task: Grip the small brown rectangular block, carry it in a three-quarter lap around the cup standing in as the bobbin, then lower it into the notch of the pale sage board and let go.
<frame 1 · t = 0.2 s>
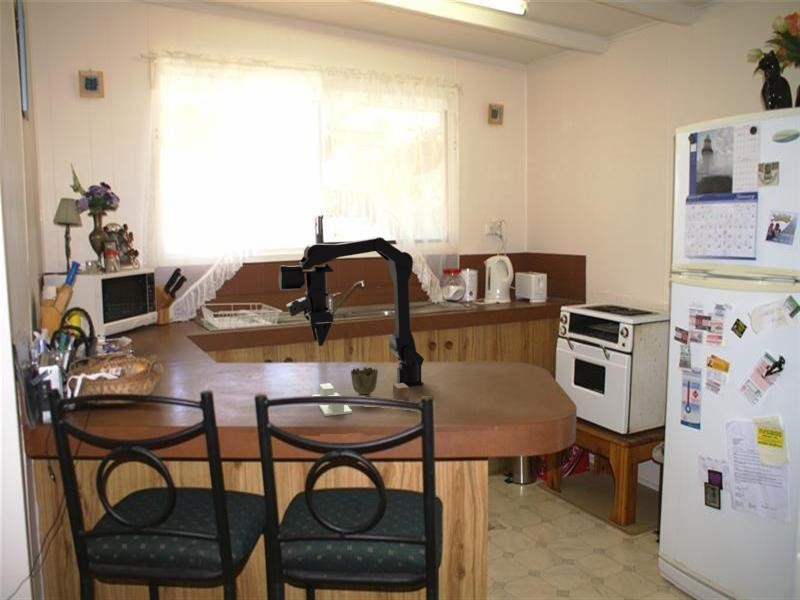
hand: (318, 342, 181), 14 cm above the countertop, fingers open, 9 cm apart
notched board: (331, 404, 170), on the countertop
brown rectangular block: (401, 403, 171), on the countertop
cup: (364, 398, 176), on the countertop
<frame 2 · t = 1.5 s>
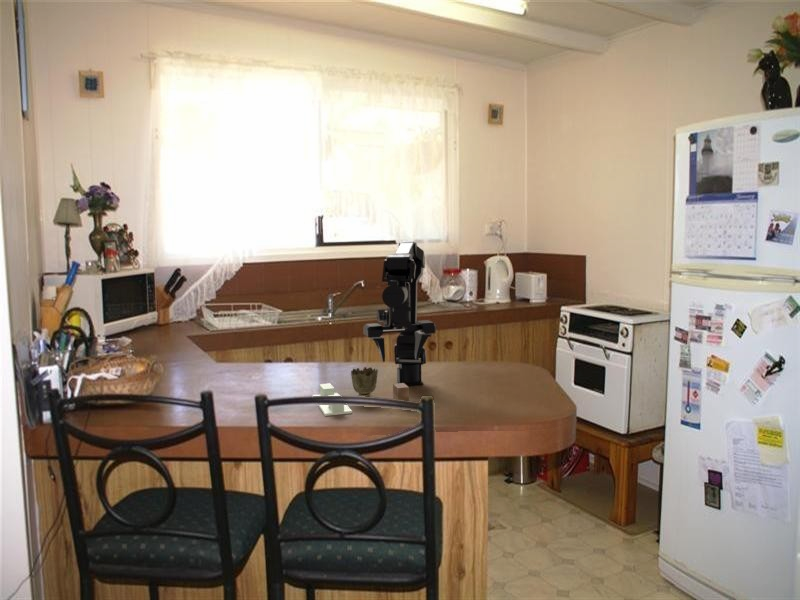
hand: (400, 360, 169), 12 cm above the countertop, fingers open, 9 cm apart
nothing on the countertop moved.
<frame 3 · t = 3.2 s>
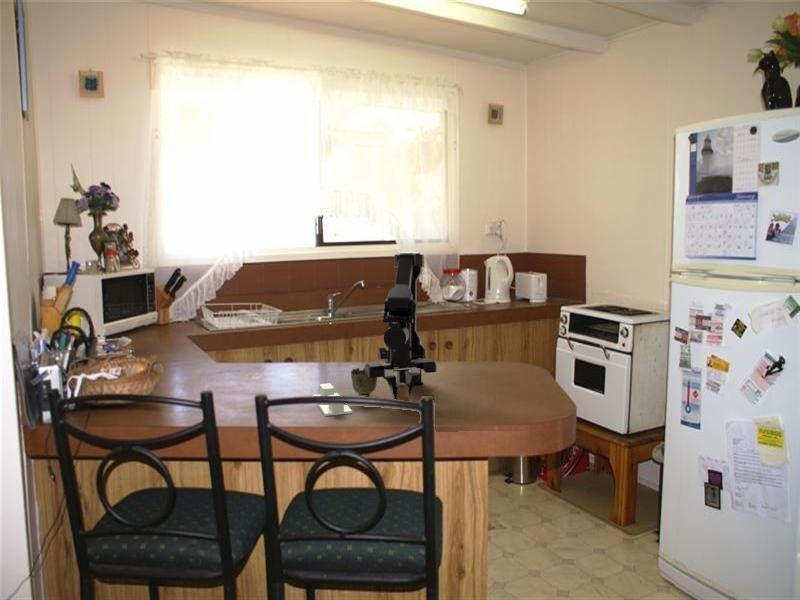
hand: (400, 398, 170), 1 cm above the countertop, fingers closed on brown rectangular block, 3 cm apart
brown rectangular block: (401, 403, 171), on the countertop, touching gripper
everything else where it was.
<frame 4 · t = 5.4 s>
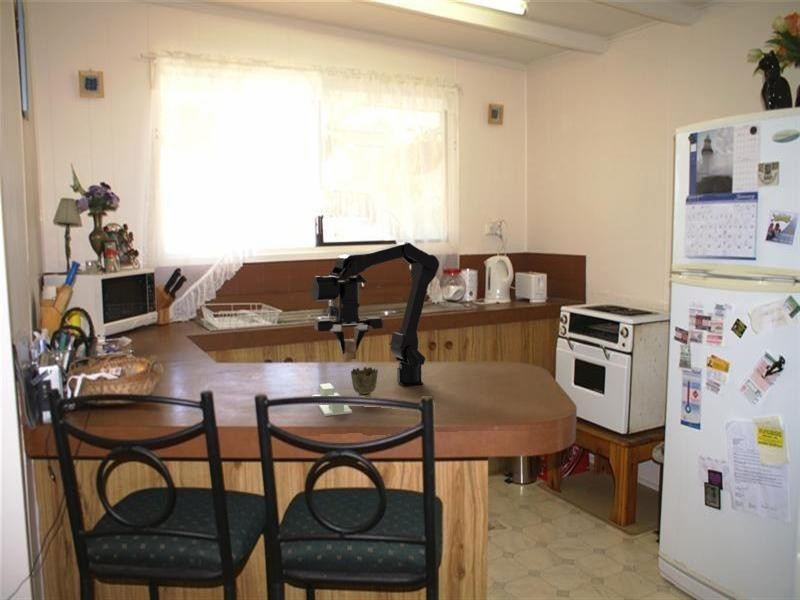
hand: (349, 353, 180), 11 cm above the countertop, fingers closed on brown rectangular block, 3 cm apart
brown rectangular block: (349, 357, 180), point 10 cm above the countertop, touching gripper
everything else where it was.
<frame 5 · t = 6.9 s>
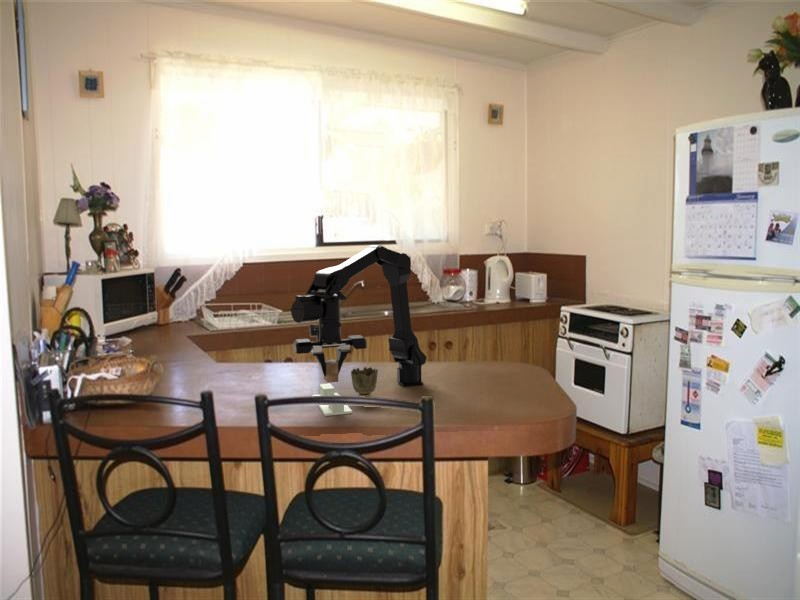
hand: (331, 375, 169), 8 cm above the countertop, fingers closed on brown rectangular block, 3 cm apart
brown rectangular block: (331, 380, 169), point 7 cm above the countertop, touching gripper
everything else where it was.
when the fingers open (3 cm above the countertop, at t = 7.9 s): brown rectangular block drops 1 cm, resting on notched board.
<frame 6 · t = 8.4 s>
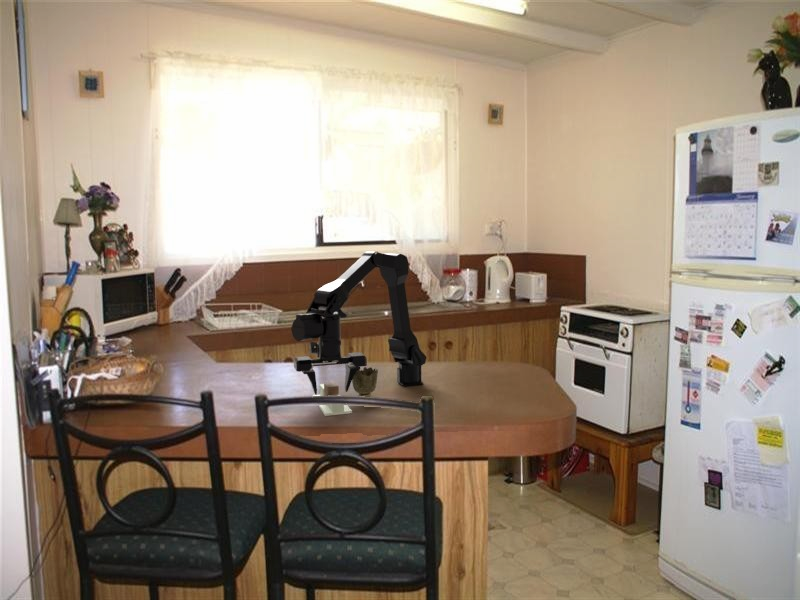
hand: (331, 393, 169), 3 cm above the countertop, fingers open, 8 cm apart
brown rectangular block: (331, 402, 170), point 1 cm above the countertop, touching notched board
cup: (364, 398, 176), on the countertop, touching gripper
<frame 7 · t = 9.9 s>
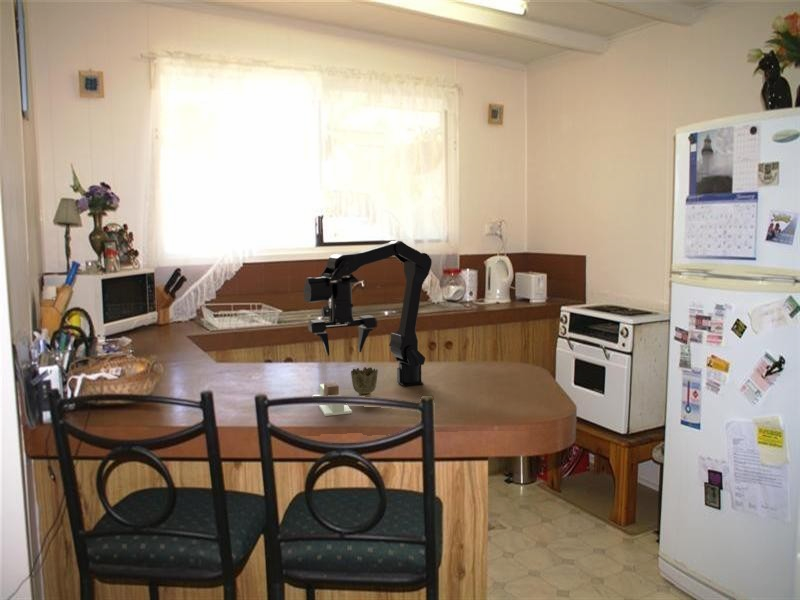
hand: (344, 353, 179), 12 cm above the countertop, fingers open, 9 cm apart
cup: (364, 398, 176), on the countertop
everything else where it was.
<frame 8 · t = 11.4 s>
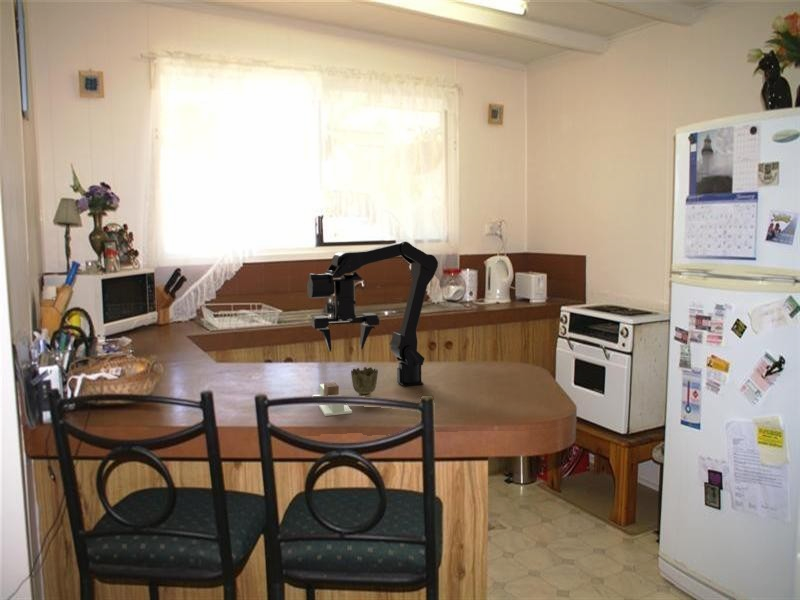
hand: (345, 350, 182), 12 cm above the countertop, fingers open, 9 cm apart
nothing on the countertop moved.
at the end: brown rectangular block 0.1 cm off-centre on the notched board, point 0.6 cm above the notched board's base; brown rectangular block tilted 0°; cup moved 0.2 cm from its start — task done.
